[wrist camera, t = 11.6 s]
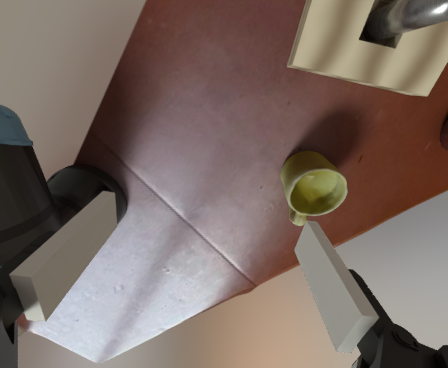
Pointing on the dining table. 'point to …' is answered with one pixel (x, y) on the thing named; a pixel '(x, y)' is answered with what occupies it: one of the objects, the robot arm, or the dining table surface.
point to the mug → (311, 186)
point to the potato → (444, 136)
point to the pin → (404, 18)
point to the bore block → (367, 48)
